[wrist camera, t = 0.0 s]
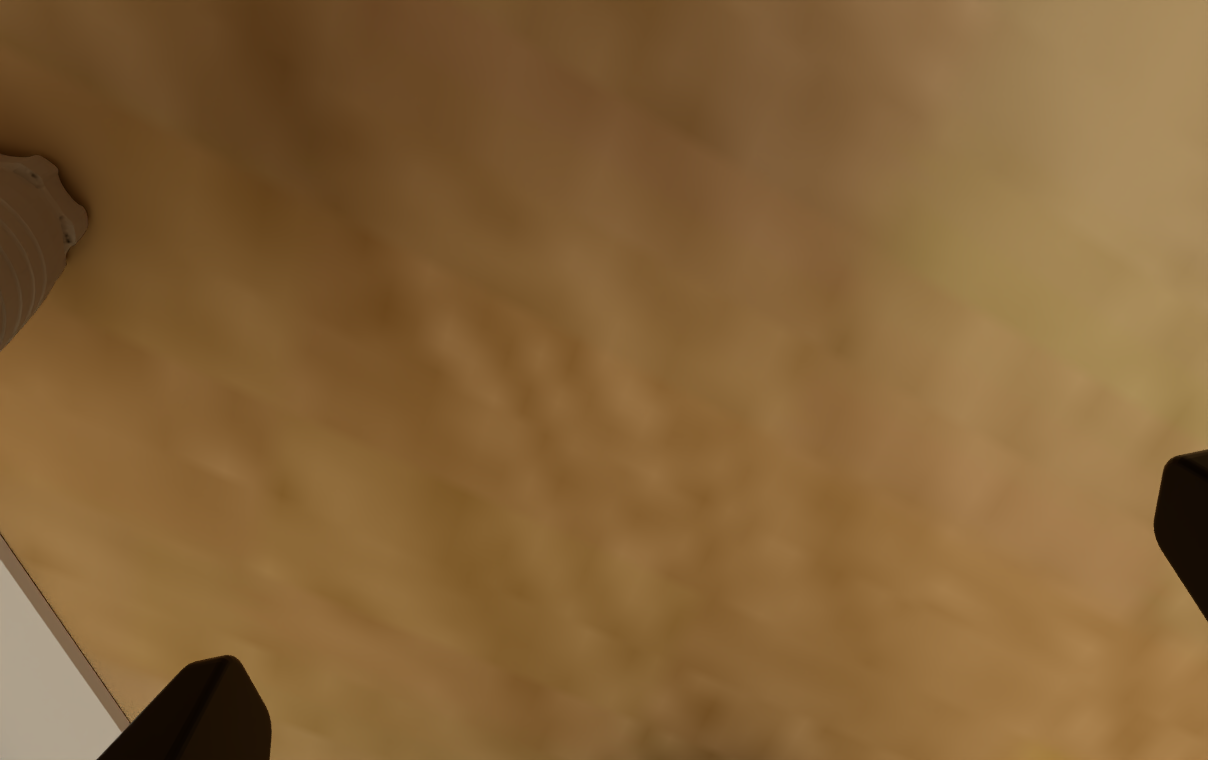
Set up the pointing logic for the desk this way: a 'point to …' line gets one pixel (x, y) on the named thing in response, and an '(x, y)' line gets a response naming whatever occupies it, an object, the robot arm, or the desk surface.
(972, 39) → the desk surface
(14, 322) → the handle
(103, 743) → the socket plate
